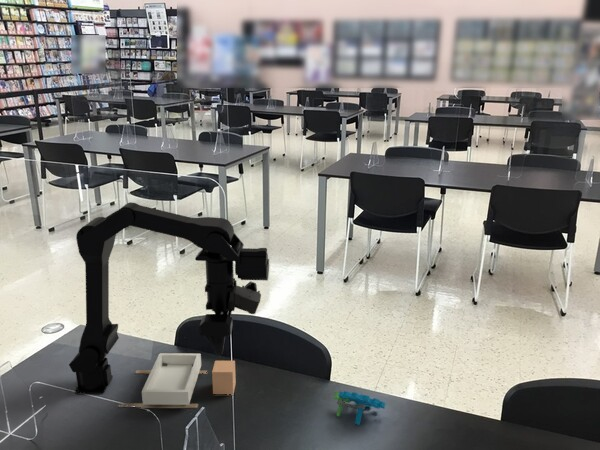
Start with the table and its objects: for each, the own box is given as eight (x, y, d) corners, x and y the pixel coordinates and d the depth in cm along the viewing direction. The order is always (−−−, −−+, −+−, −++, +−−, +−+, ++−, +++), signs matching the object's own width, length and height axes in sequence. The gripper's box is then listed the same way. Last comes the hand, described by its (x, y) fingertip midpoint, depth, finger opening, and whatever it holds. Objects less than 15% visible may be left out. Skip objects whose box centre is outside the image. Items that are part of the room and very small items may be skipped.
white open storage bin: (143, 407, 109) (141, 391, 108) (160, 367, 123) (159, 353, 122) (189, 407, 109) (188, 392, 108) (201, 368, 123) (200, 353, 122)
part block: (213, 395, 114) (212, 372, 112) (216, 383, 118) (215, 360, 116) (233, 395, 114) (232, 372, 112) (235, 383, 118) (234, 360, 116)
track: (117, 407, 109) (117, 406, 109) (136, 370, 122) (136, 370, 122) (197, 408, 110) (197, 407, 110) (207, 371, 123) (207, 370, 122)
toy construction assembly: (392, 404, 109) (378, 393, 101) (387, 433, 106) (372, 424, 99) (344, 395, 114) (328, 384, 106) (339, 422, 112) (321, 413, 104)
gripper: (254, 298, 99) (255, 368, 104) (261, 262, 117) (261, 322, 121) (197, 298, 99) (201, 367, 104) (212, 261, 117) (215, 322, 121)
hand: (222, 343), depth 112 cm, fingers open, 9 cm apart
